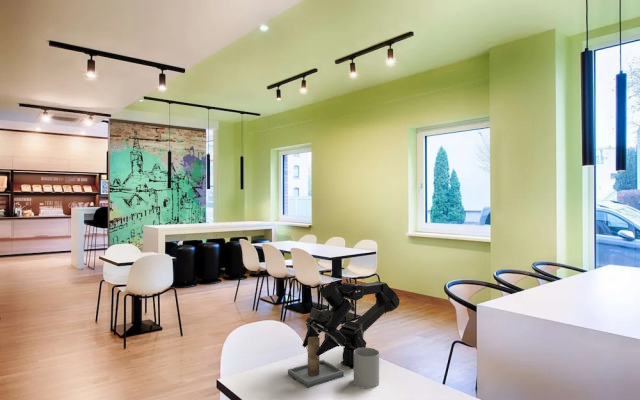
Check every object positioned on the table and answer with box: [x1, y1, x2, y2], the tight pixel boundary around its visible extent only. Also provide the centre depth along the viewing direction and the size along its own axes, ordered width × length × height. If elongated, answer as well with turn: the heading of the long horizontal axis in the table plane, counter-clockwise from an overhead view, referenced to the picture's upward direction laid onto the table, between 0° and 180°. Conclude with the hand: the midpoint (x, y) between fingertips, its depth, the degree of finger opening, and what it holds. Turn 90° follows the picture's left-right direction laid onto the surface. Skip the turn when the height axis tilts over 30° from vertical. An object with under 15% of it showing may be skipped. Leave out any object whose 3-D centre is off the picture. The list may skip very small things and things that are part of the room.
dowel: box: [307, 336, 321, 376], centre depth 137 cm, size 4×4×12 cm
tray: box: [287, 359, 345, 389], centre depth 138 cm, size 15×12×2 cm
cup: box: [353, 347, 380, 389], centre depth 133 cm, size 8×8×10 cm
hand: (309, 350), depth 136 cm, fingers open, 9 cm apart
